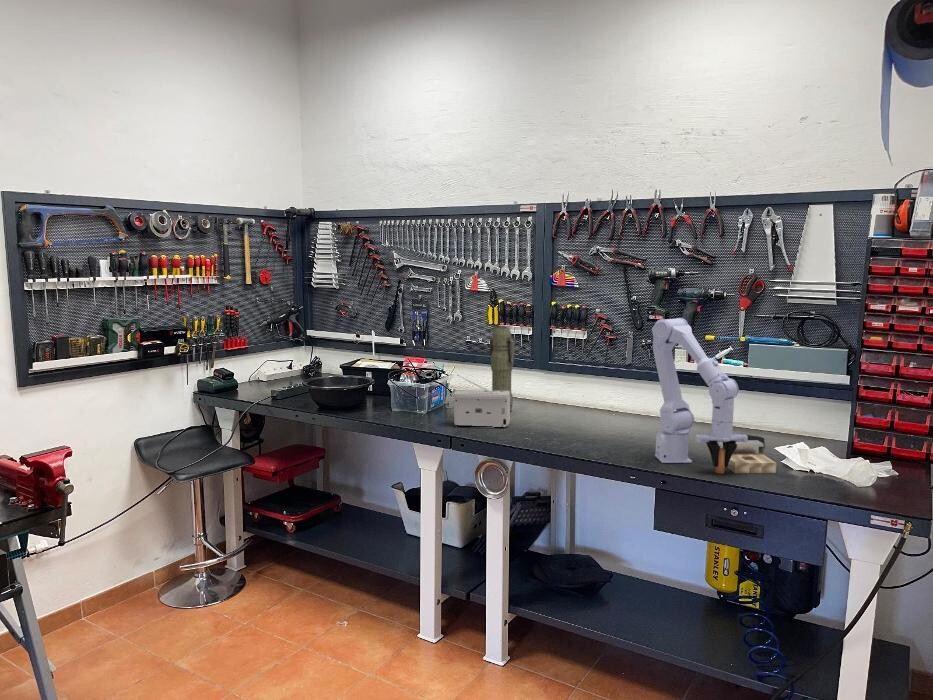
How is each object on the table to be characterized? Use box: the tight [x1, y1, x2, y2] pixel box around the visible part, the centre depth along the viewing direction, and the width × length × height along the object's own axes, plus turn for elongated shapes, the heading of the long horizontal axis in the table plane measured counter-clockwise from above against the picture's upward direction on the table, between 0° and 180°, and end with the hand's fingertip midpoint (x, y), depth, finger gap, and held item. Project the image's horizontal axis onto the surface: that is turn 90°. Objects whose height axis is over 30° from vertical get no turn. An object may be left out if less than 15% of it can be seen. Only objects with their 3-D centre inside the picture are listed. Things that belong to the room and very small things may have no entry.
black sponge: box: [746, 434, 766, 454], centre depth 225 cm, size 16×8×4 cm, turn 154°
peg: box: [715, 448, 726, 475], centre depth 202 cm, size 2×2×7 cm
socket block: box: [726, 453, 777, 474], centre depth 206 cm, size 12×10×3 cm
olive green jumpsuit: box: [489, 325, 515, 412], centre depth 281 cm, size 9×12×35 cm
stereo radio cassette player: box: [453, 374, 511, 428], centre depth 257 cm, size 21×8×20 cm, turn 84°
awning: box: [718, 440, 765, 454], centre depth 212 cm, size 12×4×6 cm, turn 91°
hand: (720, 466), depth 202 cm, fingers closed on peg, 2 cm apart
